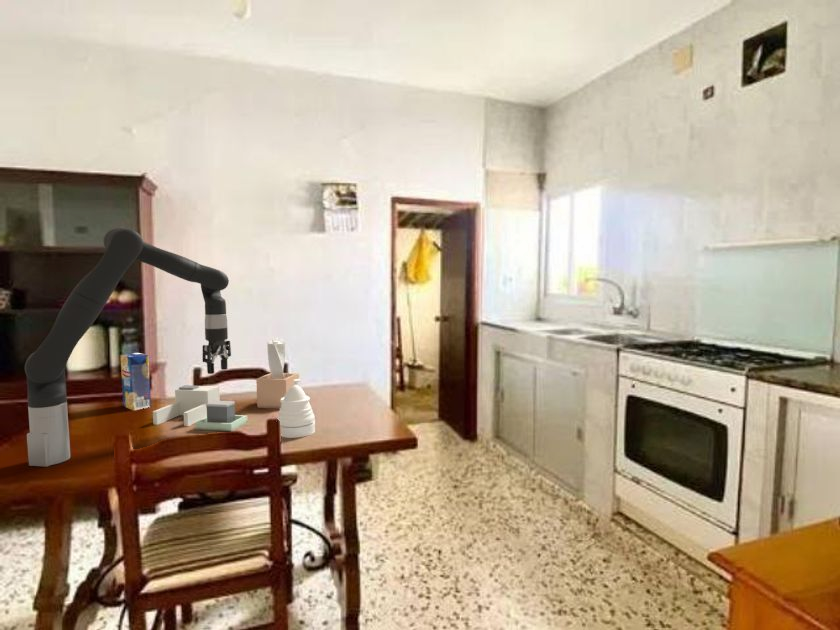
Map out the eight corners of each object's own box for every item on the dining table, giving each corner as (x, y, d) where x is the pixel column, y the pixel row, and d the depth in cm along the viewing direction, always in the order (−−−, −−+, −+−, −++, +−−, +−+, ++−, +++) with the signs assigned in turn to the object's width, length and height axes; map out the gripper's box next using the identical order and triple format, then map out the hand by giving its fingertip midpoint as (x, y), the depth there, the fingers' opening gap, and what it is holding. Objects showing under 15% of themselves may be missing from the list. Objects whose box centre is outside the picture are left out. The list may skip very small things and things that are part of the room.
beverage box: (140, 402, 219) (137, 352, 217) (151, 407, 212) (148, 355, 210) (123, 406, 214) (120, 354, 212) (133, 410, 207) (130, 357, 205)
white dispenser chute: (187, 426, 184) (186, 397, 183) (153, 424, 187) (152, 395, 186) (220, 410, 205) (219, 384, 204) (188, 409, 207) (187, 383, 206)
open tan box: (286, 408, 207) (286, 379, 206) (257, 407, 210) (256, 378, 209) (299, 400, 220) (298, 373, 219) (271, 399, 222) (270, 372, 221)
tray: (231, 431, 178) (231, 424, 178) (195, 429, 180) (195, 422, 180) (247, 422, 189) (247, 415, 189) (213, 420, 191) (212, 414, 191)
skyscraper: (286, 405, 211) (284, 338, 208) (266, 405, 211) (264, 338, 208) (290, 400, 219) (289, 336, 217) (272, 400, 219) (270, 336, 217)
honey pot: (286, 425, 184) (285, 376, 183) (320, 427, 182) (319, 377, 180) (270, 436, 171) (268, 384, 170) (306, 438, 169) (305, 385, 168)
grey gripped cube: (227, 426, 181) (226, 404, 180) (206, 425, 183) (206, 403, 182) (235, 422, 186) (234, 401, 185) (215, 421, 188) (214, 400, 187)
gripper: (214, 328, 174) (216, 375, 175) (236, 325, 188) (237, 368, 189) (194, 328, 175) (196, 375, 176) (217, 324, 189) (219, 367, 190)
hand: (217, 371), depth 183 cm, fingers open, 8 cm apart
